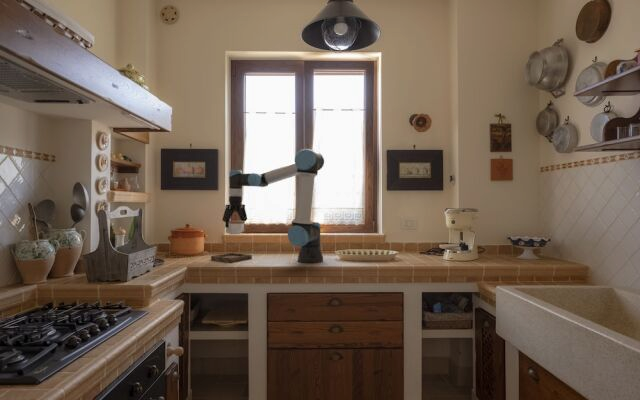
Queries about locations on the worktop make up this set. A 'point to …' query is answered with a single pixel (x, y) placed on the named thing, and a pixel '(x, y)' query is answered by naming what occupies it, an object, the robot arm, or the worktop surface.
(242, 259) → the walnut tray
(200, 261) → the worktop surface
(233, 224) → the lidded jar
